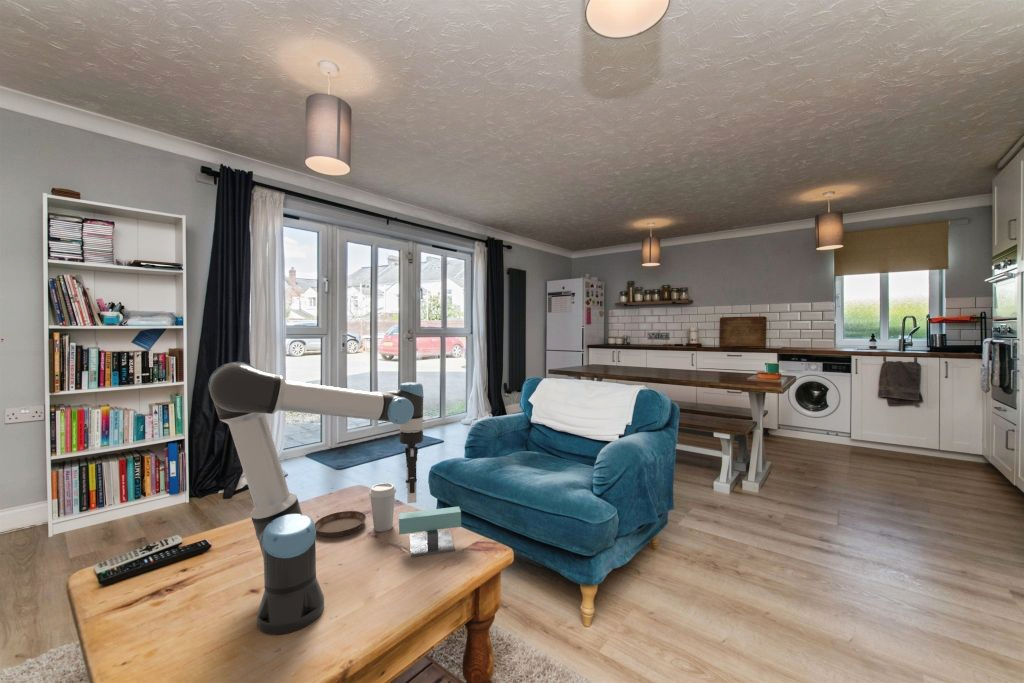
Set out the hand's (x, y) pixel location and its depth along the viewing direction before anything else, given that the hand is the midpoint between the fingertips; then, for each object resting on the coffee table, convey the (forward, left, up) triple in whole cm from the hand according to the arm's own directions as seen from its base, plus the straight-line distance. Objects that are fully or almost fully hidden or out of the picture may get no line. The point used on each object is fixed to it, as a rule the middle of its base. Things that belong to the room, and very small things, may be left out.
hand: (411, 494), depth 142 cm
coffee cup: (+18, +10, -18) cm, 27 cm away
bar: (0, -6, -12) cm, 13 cm away
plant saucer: (+22, +25, -18) cm, 38 cm away
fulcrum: (+1, -6, -18) cm, 19 cm away
